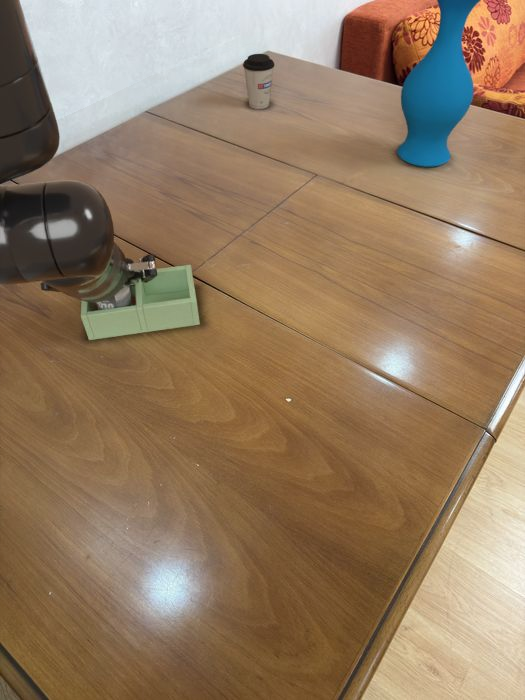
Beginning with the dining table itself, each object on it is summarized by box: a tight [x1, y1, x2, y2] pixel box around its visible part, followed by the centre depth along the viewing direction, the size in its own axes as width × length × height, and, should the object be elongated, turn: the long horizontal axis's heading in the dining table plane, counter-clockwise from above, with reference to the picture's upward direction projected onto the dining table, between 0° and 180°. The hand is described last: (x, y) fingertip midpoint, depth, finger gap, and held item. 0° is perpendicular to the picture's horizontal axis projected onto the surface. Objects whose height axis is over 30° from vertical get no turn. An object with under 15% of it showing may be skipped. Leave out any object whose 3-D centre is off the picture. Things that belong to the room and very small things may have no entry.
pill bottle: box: [96, 286, 134, 310], centre depth 71 cm, size 5×5×8 cm
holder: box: [80, 264, 201, 341], centre depth 74 cm, size 15×8×4 cm, turn 101°
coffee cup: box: [242, 53, 275, 110], centre depth 119 cm, size 7×7×10 cm
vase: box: [396, 0, 481, 168], centre depth 95 cm, size 12×13×28 cm
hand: (111, 281), depth 73 cm, fingers closed on pill bottle, 4 cm apart
